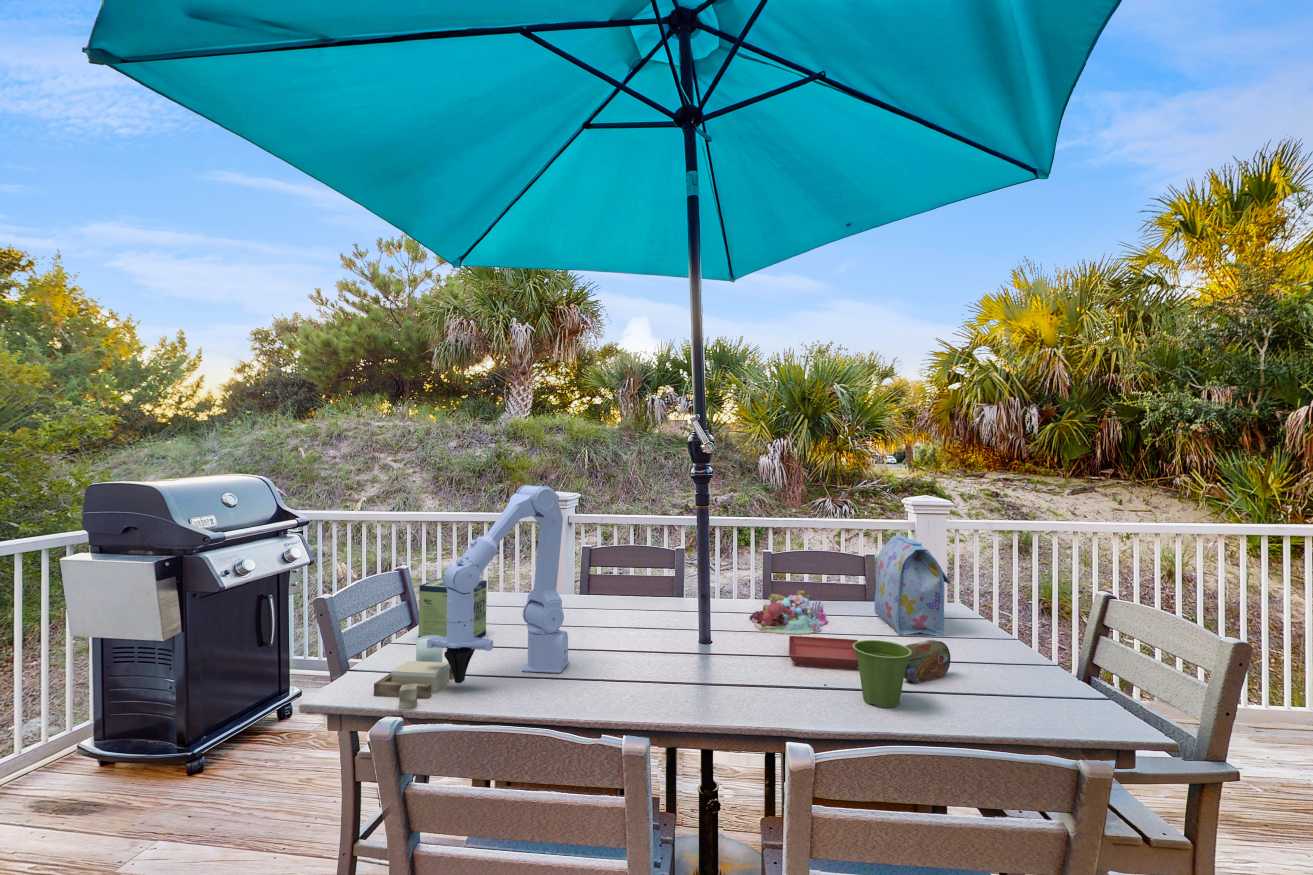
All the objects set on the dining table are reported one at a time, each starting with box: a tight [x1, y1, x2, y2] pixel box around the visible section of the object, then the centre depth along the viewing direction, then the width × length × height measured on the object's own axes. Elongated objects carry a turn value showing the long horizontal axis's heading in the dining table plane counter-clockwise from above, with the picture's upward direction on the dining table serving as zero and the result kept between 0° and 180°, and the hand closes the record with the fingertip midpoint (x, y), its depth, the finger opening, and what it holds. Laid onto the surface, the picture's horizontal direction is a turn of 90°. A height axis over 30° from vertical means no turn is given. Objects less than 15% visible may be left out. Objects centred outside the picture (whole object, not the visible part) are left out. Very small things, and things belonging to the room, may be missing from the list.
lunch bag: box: [873, 534, 951, 637], centre depth 194 cm, size 22×17×26 cm
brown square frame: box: [373, 667, 454, 700], centre depth 143 cm, size 12×13×2 cm
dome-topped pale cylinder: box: [415, 635, 444, 662], centre depth 155 cm, size 6×6×7 cm
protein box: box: [417, 577, 488, 638], centre depth 179 cm, size 10×16×16 cm
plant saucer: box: [788, 635, 859, 670], centre depth 164 cm, size 18×18×3 cm
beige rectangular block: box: [390, 660, 450, 694], centre depth 143 cm, size 10×7×4 cm
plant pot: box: [852, 639, 912, 709], centre depth 135 cm, size 12×12×11 cm
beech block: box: [398, 684, 418, 710], centre depth 131 cm, size 3×3×4 cm
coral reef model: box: [749, 590, 828, 636], centre depth 197 cm, size 25×24×9 cm
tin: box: [904, 639, 951, 684], centre depth 149 cm, size 15×3×8 cm, turn 117°
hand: (459, 681), depth 141 cm, fingers closed
